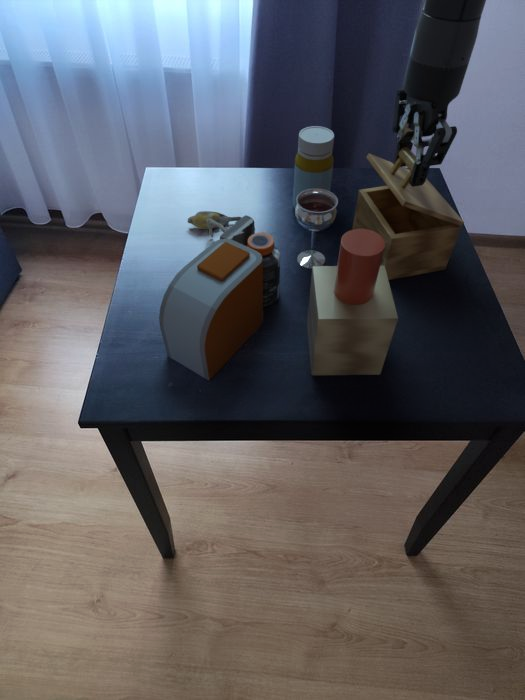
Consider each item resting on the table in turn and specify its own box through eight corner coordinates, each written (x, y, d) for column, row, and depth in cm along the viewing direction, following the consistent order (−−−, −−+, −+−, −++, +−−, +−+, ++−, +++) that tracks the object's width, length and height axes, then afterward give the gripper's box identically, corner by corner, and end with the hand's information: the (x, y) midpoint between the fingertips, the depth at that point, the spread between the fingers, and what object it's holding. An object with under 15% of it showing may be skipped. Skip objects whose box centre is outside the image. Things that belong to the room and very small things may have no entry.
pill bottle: (284, 288, 80) (287, 233, 71) (270, 312, 77) (271, 257, 68) (253, 278, 82) (251, 223, 73) (237, 301, 78) (233, 246, 70)
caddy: (381, 281, 81) (392, 238, 74) (351, 232, 90) (358, 189, 83) (445, 269, 83) (461, 226, 76) (410, 222, 91) (422, 179, 84)
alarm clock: (226, 297, 79) (220, 229, 68) (268, 318, 76) (268, 251, 65) (165, 354, 71) (147, 288, 61) (209, 381, 68) (199, 316, 58)
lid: (402, 205, 70) (424, 175, 66) (365, 157, 78) (384, 128, 75) (461, 226, 76) (484, 199, 73) (421, 179, 84) (440, 153, 81)
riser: (369, 323, 75) (384, 265, 66) (380, 374, 69) (398, 318, 59) (306, 324, 75) (312, 265, 66) (311, 375, 69) (318, 319, 59)
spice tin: (378, 284, 63) (390, 235, 57) (366, 310, 60) (377, 261, 54) (341, 273, 65) (349, 223, 59) (327, 297, 62) (334, 248, 56)
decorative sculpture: (186, 227, 91) (181, 193, 85) (231, 211, 94) (228, 177, 88) (226, 276, 82) (223, 241, 76) (274, 257, 85) (274, 222, 79)
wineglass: (303, 276, 82) (307, 217, 73) (285, 252, 86) (288, 194, 77) (337, 265, 84) (346, 206, 74) (318, 243, 88) (325, 184, 78)
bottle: (334, 212, 94) (344, 137, 82) (305, 223, 91) (311, 148, 80) (314, 194, 97) (321, 121, 86) (285, 205, 95) (288, 131, 84)
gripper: (497, 72, 57) (452, 197, 71) (439, 32, 66) (409, 149, 79) (440, 78, 56) (405, 204, 69) (390, 36, 65) (367, 155, 78)
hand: (407, 174), depth 74 cm, fingers closed on lid, 5 cm apart
